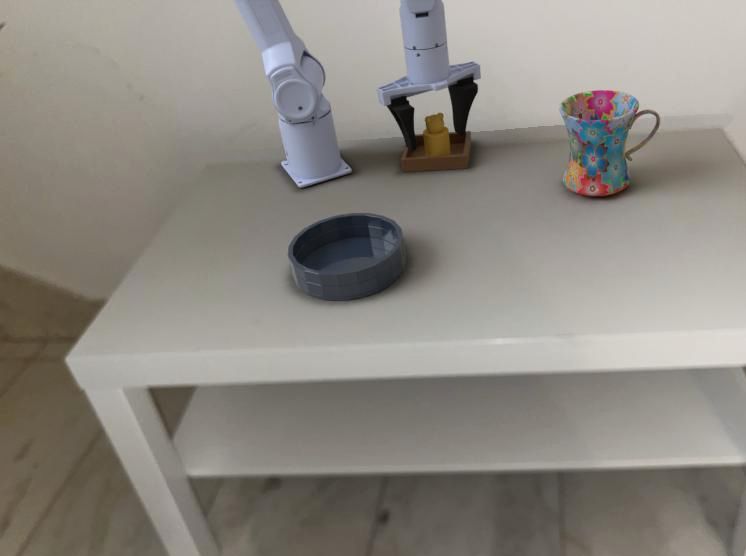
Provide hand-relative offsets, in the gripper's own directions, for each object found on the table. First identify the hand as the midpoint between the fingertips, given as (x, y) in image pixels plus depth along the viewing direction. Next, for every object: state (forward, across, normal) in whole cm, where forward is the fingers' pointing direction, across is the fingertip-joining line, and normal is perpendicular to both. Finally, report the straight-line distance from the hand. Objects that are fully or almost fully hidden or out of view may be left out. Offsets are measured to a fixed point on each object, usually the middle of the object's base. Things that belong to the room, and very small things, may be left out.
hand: (436, 140), depth 108 cm
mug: (+3, +14, -21) cm, 25 cm away
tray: (+3, 0, 0) cm, 3 cm away
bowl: (+3, -21, -20) cm, 29 cm away
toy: (+2, 0, 0) cm, 2 cm away
